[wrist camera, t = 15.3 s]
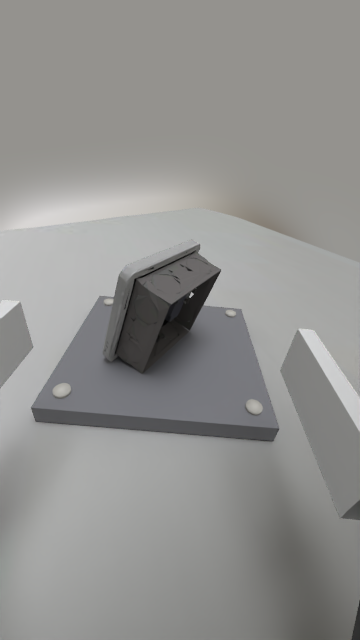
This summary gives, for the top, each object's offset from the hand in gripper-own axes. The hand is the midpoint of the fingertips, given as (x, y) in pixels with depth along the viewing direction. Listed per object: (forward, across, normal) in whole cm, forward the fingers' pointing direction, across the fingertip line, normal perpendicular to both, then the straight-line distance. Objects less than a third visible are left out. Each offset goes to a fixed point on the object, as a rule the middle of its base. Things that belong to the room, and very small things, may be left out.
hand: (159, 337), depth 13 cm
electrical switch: (+9, 0, -8) cm, 12 cm away
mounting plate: (+9, 0, -9) cm, 13 cm away
